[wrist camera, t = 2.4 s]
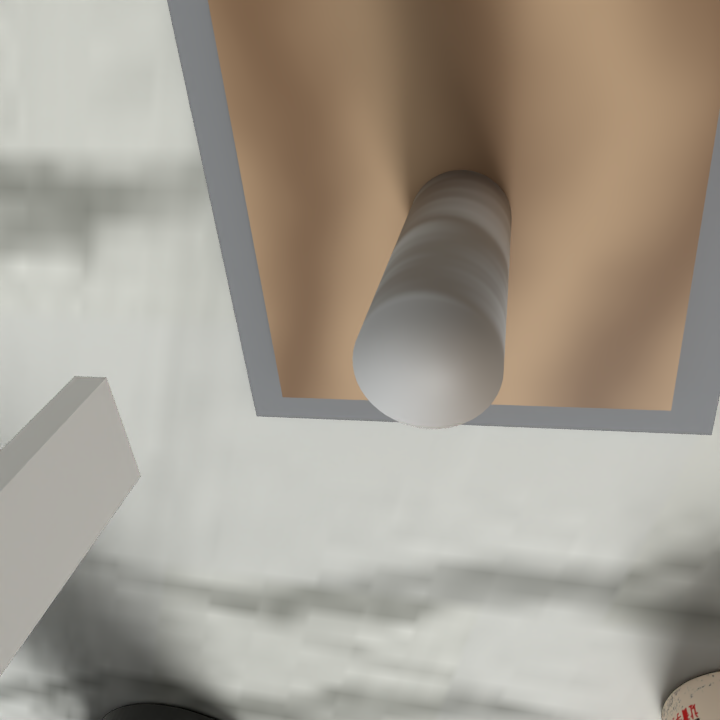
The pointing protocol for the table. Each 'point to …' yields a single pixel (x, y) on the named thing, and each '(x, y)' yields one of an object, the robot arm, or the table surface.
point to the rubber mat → (220, 163)
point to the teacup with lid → (695, 700)
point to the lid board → (505, 115)
